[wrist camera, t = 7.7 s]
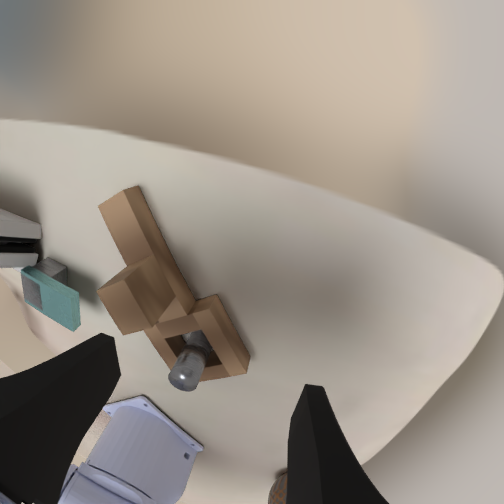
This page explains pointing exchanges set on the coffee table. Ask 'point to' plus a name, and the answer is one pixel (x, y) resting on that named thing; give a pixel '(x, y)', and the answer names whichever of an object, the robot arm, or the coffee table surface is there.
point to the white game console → (17, 241)
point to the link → (162, 292)
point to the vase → (278, 491)
